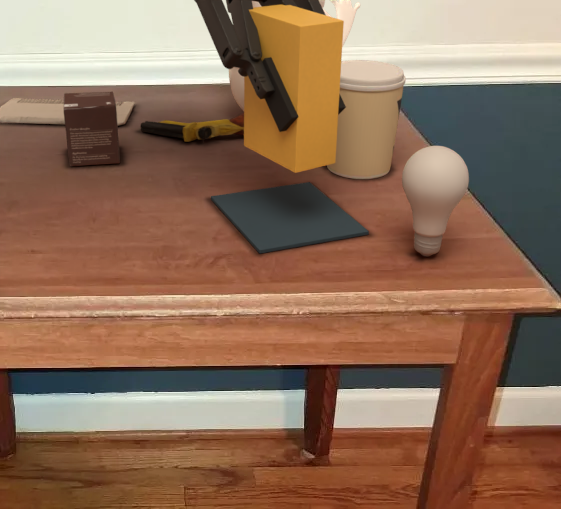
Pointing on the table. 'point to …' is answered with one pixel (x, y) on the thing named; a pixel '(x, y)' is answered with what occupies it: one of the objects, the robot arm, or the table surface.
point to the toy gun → (196, 128)
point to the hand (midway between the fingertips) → (312, 119)
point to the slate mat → (287, 217)
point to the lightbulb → (433, 193)
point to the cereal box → (297, 87)
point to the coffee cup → (367, 118)
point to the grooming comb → (48, 111)
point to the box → (91, 128)
